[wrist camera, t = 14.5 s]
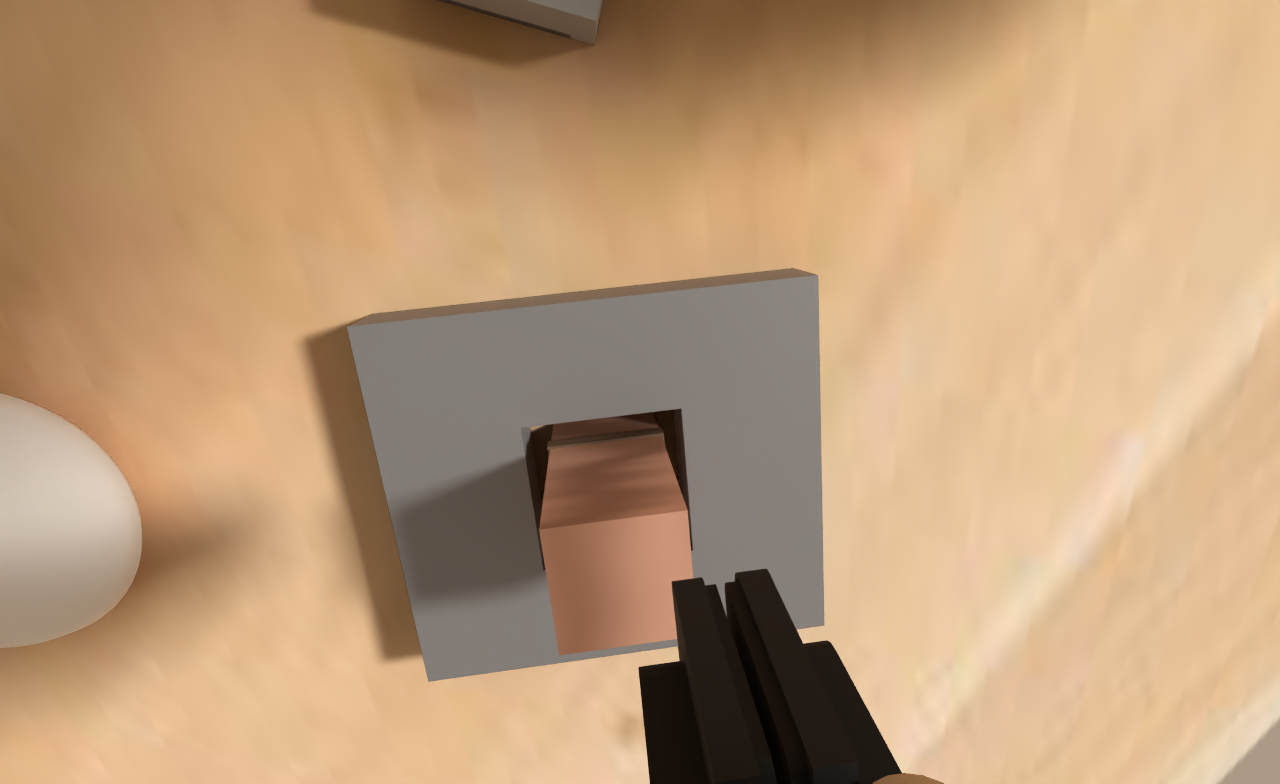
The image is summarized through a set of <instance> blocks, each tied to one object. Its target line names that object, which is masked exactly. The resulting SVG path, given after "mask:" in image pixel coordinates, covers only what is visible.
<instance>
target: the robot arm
mask: <svg viewBox="0 0 1280 784" xmlns="http://www.w3.org/2000/svg"><path fill="white" fill-rule="evenodd" d="M672 594H673V603H674V613H675V622H676V631H677V641H678V650H679V659H680V661H678V662H671V663H664V664H657V665H650V666H643V667H639V677H640V687H641V697H642V707H643V717H644V727H645V737H646V747H647V757H648V767H649V777H650V784H944V783H942V782H939V781H937V780H934V779H931V778H929V777H926V776H923V775H915V774H907V773H902V772H901V770H900V769H899V767H898V765H897V763H896V761H895V759H894V757H893V756H892V754H891V752H890V750H889V748H888V746H887V744H886V743H885V741H884V739H883V737H882V735H881V733H880V732H879V730H878V728H877V726H876V724H875V722H874V720H873V719H872V717H871V715H870V713H869V711H868V709H867V707H866V706H865V704H864V702H863V700H862V698H861V696H860V694H859V693H858V691H857V689H856V687H855V685H854V683H853V681H852V680H851V678H850V676H849V674H848V672H847V670H846V668H845V667H844V665H843V663H842V661H841V659H840V657H839V655H838V654H837V652H836V650H835V648H834V647H833V645H832V644H831V643H830V642H829V641H820V642H813V643H806V644H803V643H802V640H801V638H800V636H799V634H798V632H797V630H796V628H795V626H794V624H793V621H792V619H791V617H790V615H789V613H788V611H787V609H786V607H785V605H784V602H783V600H782V598H781V596H780V594H779V592H778V590H777V588H776V586H775V583H774V581H773V579H772V577H771V575H770V573H769V571H768V570H767V569H766V568H765V569H758V570H751V571H743V572H736V573H735V581H734V582H726V583H725V601H726V613H725V610H724V607H723V604H722V601H721V598H720V595H719V592H718V589H717V586H716V584H712V585H705V583H704V580H703V578H702V577H699V578H692V579H685V580H677V581H672ZM726 614H727V616H726Z"/></svg>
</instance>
